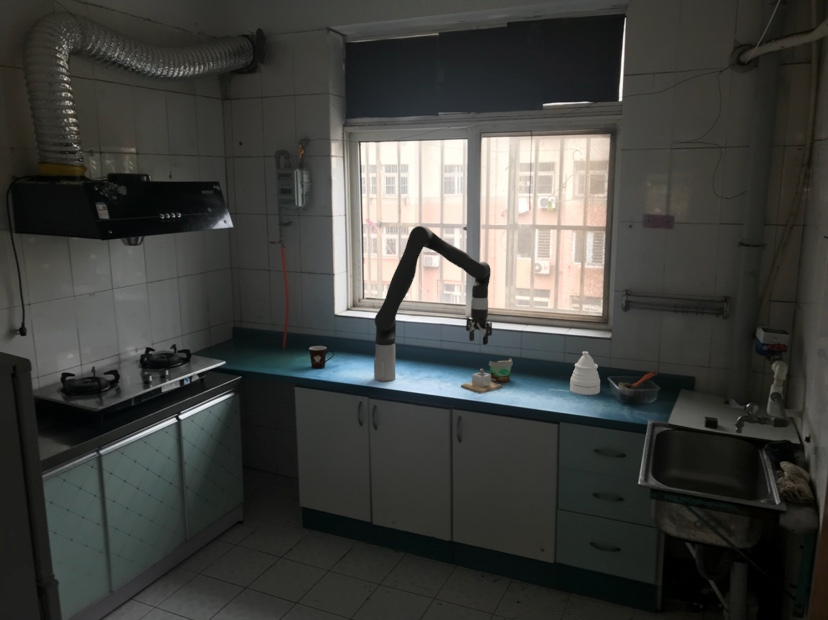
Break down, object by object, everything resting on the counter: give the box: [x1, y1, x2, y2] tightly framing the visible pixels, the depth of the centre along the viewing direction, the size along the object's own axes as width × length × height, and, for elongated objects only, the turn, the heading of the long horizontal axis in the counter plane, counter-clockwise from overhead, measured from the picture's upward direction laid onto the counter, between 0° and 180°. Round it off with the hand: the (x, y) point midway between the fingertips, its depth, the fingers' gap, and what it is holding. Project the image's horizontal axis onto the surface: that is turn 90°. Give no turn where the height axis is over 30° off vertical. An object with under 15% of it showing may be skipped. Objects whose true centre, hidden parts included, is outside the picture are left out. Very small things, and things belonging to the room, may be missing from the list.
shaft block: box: [460, 368, 503, 394], centre depth 292 cm, size 14×12×8 cm
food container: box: [488, 357, 514, 384], centre depth 301 cm, size 12×6×10 cm, turn 117°
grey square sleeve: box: [471, 372, 491, 388], centre depth 293 cm, size 6×6×5 cm
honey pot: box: [569, 351, 601, 396], centre depth 287 cm, size 13×13×18 cm
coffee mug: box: [308, 345, 335, 370], centre depth 324 cm, size 12×9×10 cm
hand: (478, 342), depth 291 cm, fingers open, 8 cm apart
